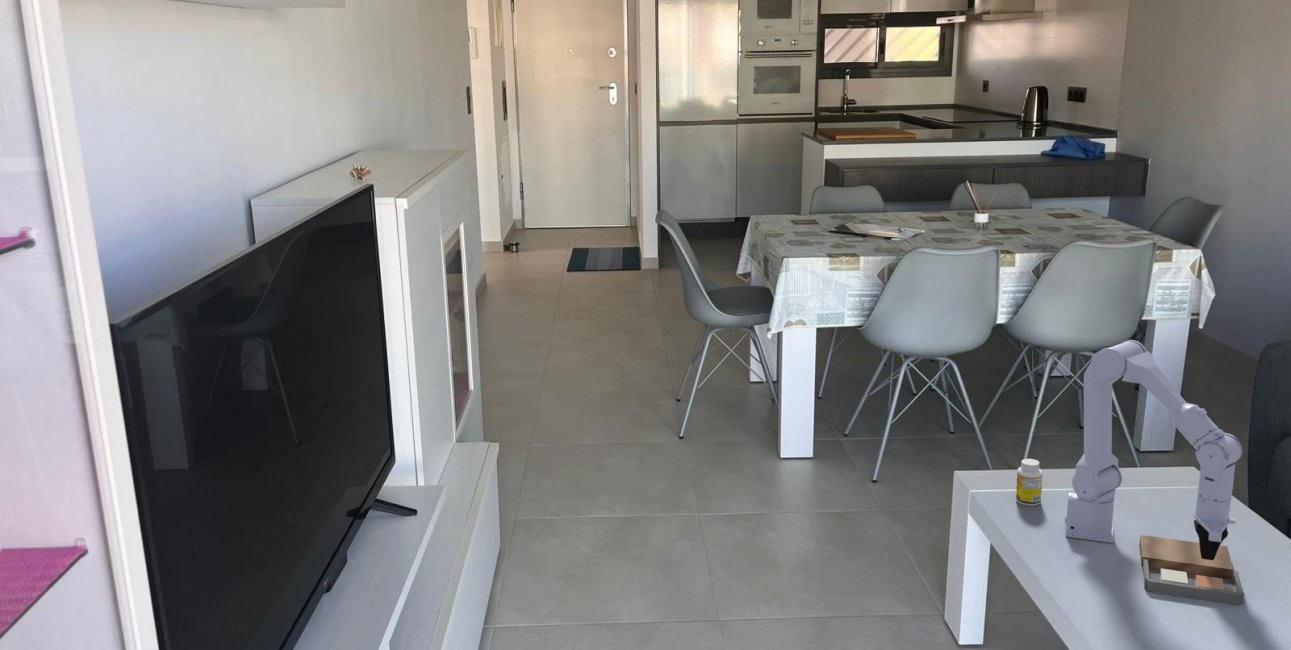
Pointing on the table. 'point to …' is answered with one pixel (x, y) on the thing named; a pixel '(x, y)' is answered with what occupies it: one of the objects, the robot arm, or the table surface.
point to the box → (1194, 587)
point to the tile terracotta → (1209, 582)
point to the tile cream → (1173, 576)
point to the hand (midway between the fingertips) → (1207, 558)
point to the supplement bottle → (1029, 483)
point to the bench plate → (1184, 557)
